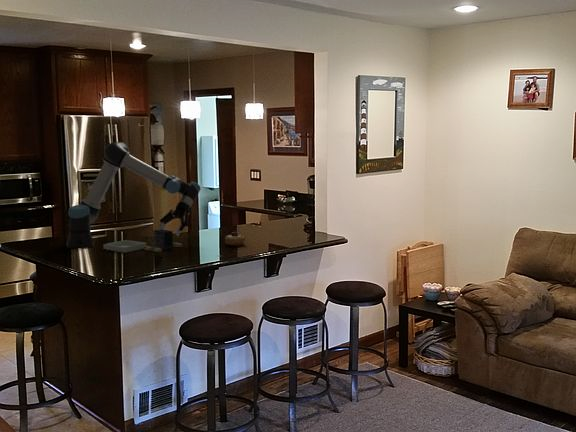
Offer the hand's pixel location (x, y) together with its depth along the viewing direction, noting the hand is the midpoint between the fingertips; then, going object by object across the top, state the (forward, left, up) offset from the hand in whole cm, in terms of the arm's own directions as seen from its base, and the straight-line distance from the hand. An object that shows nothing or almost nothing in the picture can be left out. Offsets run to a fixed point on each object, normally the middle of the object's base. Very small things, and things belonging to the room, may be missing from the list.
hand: (167, 233), depth 359 cm
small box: (-1, -2, -8) cm, 9 cm away
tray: (-18, -15, -8) cm, 25 cm away
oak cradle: (-1, -2, -8) cm, 9 cm away
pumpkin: (+26, +29, -8) cm, 40 cm away
